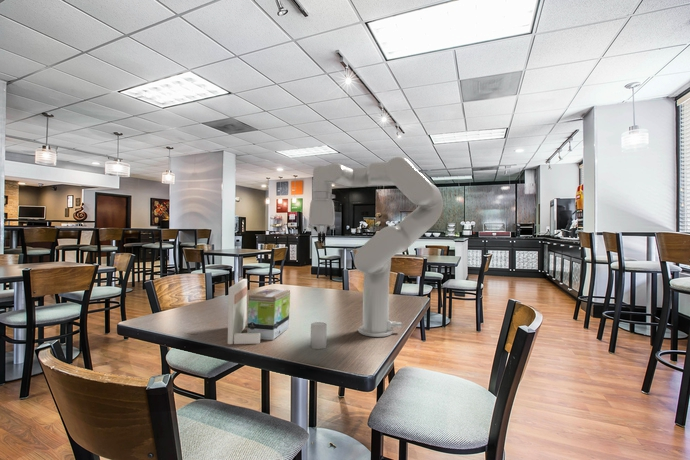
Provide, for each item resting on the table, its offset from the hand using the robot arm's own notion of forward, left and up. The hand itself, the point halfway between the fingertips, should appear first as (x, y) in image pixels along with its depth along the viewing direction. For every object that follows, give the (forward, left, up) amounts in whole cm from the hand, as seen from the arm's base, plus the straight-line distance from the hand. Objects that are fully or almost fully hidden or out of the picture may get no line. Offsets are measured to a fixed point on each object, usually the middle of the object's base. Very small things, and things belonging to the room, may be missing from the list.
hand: (321, 243), depth 130 cm
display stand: (+24, +12, -32) cm, 42 cm away
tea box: (+18, +11, -32) cm, 39 cm away
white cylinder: (+1, +26, -32) cm, 41 cm away
